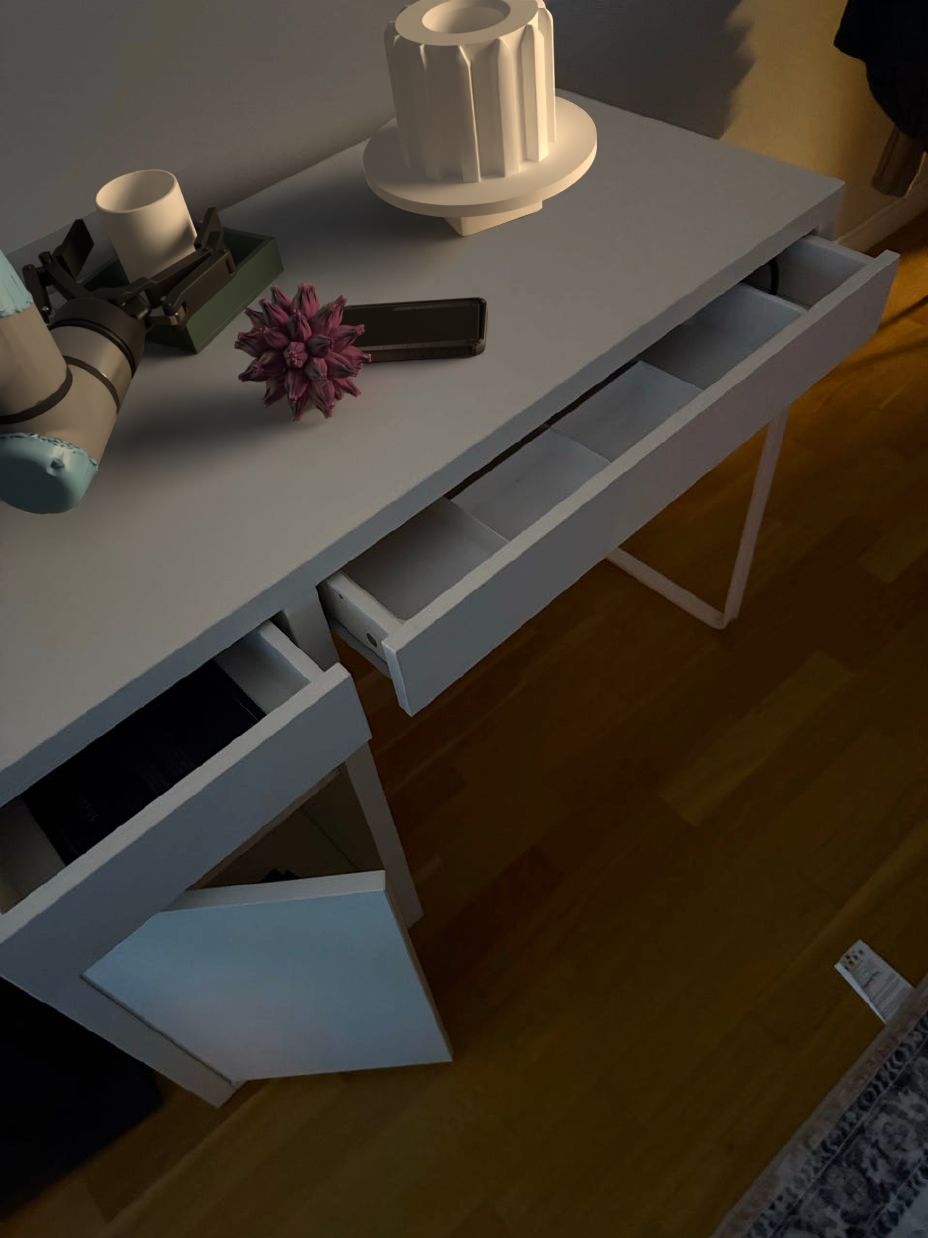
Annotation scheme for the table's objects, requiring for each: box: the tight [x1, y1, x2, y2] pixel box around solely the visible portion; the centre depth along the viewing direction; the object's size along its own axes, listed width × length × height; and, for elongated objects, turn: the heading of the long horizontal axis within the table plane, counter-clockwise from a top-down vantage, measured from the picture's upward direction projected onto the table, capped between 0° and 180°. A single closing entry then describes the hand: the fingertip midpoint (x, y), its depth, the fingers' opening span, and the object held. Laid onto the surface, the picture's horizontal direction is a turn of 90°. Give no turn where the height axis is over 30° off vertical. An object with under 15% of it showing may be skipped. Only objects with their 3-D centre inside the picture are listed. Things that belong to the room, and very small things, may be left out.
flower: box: [233, 282, 372, 422], centre depth 79 cm, size 12×12×12 cm
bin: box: [79, 220, 285, 355], centre depth 96 cm, size 16×16×4 cm
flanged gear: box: [362, 0, 598, 237], centre depth 94 cm, size 25×25×19 cm
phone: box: [339, 296, 489, 362], centre depth 88 cm, size 8×1×15 cm
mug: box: [93, 168, 197, 306], centre depth 92 cm, size 12×8×12 cm
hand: (150, 225), depth 89 cm, fingers open, 13 cm apart
